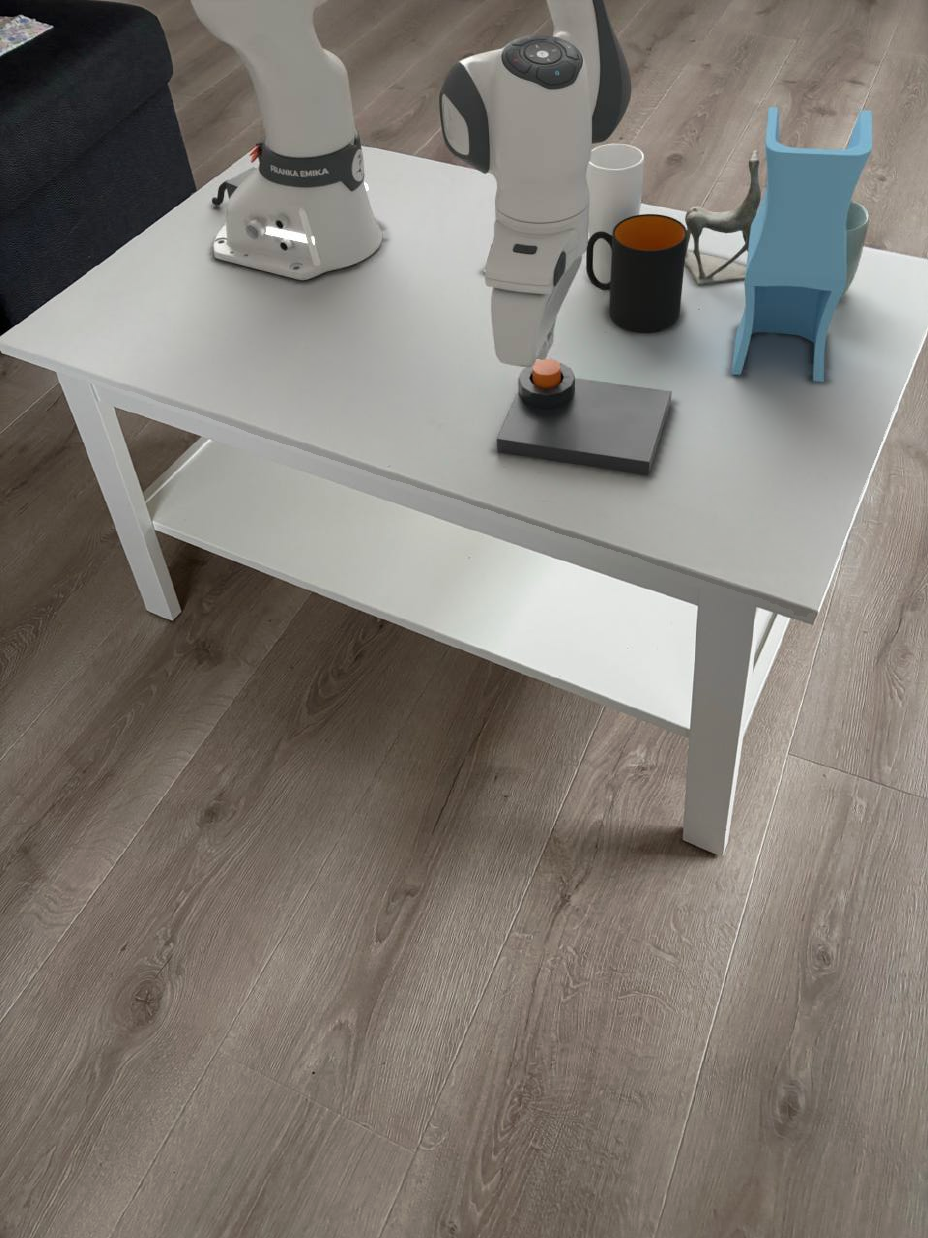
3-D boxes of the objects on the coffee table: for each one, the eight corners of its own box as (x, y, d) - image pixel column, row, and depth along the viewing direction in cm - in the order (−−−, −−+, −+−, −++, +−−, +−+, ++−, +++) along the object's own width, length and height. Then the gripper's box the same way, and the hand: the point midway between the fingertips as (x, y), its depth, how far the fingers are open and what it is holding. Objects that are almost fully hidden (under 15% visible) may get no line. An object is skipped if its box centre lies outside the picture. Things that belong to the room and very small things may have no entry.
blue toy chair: (824, 330, 124) (872, 109, 106) (823, 381, 118) (873, 156, 100) (736, 324, 126) (768, 105, 108) (731, 374, 120) (763, 151, 101)
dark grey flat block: (497, 451, 114) (495, 424, 111) (527, 384, 121) (527, 357, 119) (648, 475, 110) (650, 448, 107) (670, 403, 117) (673, 376, 115)
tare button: (529, 386, 116) (529, 373, 114) (536, 370, 118) (536, 356, 116) (556, 390, 115) (556, 376, 114) (563, 374, 117) (563, 360, 116)
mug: (601, 280, 134) (604, 200, 127) (691, 304, 130) (699, 223, 122) (569, 313, 130) (569, 233, 122) (660, 340, 125) (667, 258, 118)
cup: (778, 305, 128) (792, 226, 121) (790, 271, 133) (805, 193, 126) (846, 315, 126) (864, 235, 119) (856, 280, 131) (874, 201, 123)
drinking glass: (634, 290, 132) (642, 171, 121) (579, 287, 134) (581, 169, 122) (640, 261, 137) (647, 143, 126) (586, 258, 138) (589, 141, 127)
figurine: (658, 271, 135) (668, 153, 124) (685, 248, 138) (696, 130, 127) (738, 297, 130) (755, 176, 119) (763, 272, 133) (782, 152, 122)
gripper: (539, 173, 110) (539, 293, 121) (478, 280, 98) (484, 404, 108) (600, 179, 109) (594, 301, 119) (546, 289, 96) (545, 414, 107)
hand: (541, 351), depth 114 cm, fingers closed
